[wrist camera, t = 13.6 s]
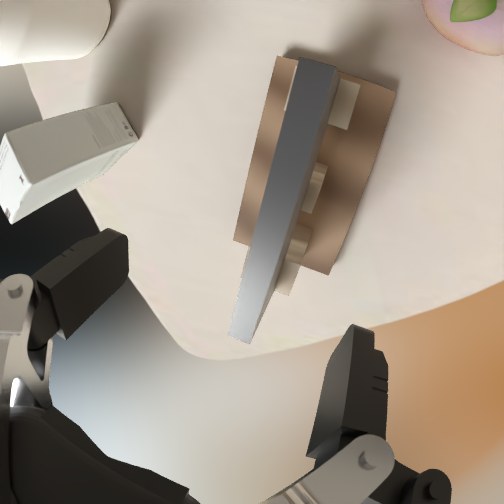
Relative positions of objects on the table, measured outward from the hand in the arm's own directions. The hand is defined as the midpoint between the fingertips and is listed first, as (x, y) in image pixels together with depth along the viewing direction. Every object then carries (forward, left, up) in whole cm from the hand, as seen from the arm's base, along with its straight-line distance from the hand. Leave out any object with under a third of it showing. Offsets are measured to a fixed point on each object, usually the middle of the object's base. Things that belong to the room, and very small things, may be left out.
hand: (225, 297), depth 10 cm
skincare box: (+3, -23, -20) cm, 31 cm away
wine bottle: (-12, -30, -20) cm, 38 cm away
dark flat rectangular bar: (0, 0, -12) cm, 12 cm away
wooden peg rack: (0, 0, -20) cm, 20 cm away
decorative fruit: (-19, +9, -20) cm, 29 cm away
